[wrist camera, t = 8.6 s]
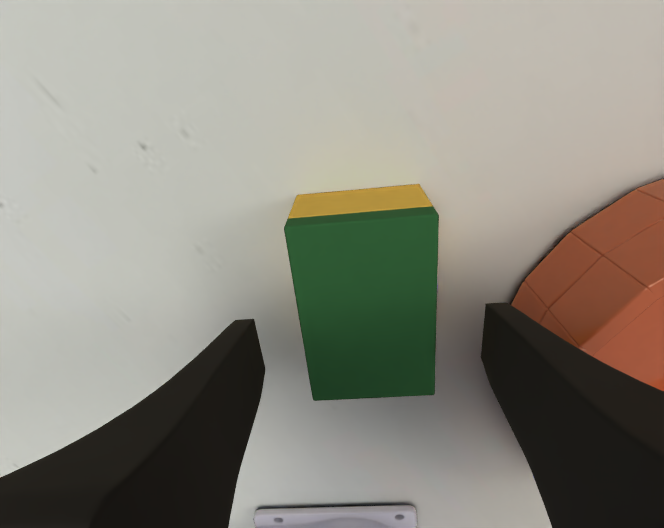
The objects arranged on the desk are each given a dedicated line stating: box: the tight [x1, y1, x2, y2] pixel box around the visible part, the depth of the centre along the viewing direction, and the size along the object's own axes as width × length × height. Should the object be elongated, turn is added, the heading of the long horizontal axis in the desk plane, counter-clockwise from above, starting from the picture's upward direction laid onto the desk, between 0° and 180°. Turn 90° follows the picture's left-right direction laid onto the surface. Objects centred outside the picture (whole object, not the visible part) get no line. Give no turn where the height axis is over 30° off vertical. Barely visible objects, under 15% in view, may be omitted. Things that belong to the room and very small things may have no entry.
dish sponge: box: [284, 184, 439, 401], centre depth 14 cm, size 4×7×3 cm, turn 6°
